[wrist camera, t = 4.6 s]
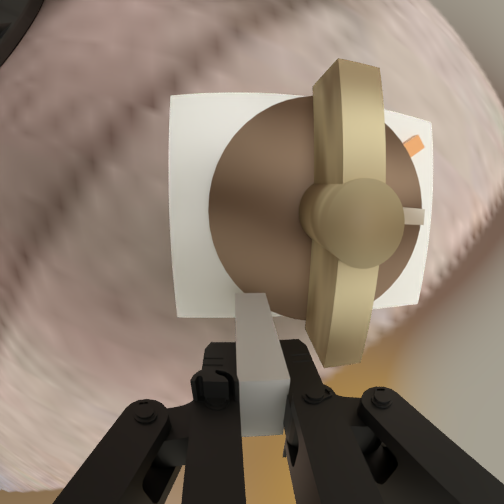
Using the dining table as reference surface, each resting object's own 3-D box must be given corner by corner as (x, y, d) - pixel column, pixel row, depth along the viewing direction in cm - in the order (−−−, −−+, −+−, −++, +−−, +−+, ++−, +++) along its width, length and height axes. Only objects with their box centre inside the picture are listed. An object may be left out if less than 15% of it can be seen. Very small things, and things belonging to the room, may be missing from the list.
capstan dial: (211, 91, 14) (200, 43, 8) (408, 114, 14) (467, 97, 9) (214, 319, 17) (208, 380, 11) (395, 308, 18) (442, 349, 12)
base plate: (175, 102, 15) (168, 92, 13) (419, 125, 16) (436, 121, 14) (180, 307, 19) (175, 321, 17) (407, 296, 20) (421, 306, 18)
